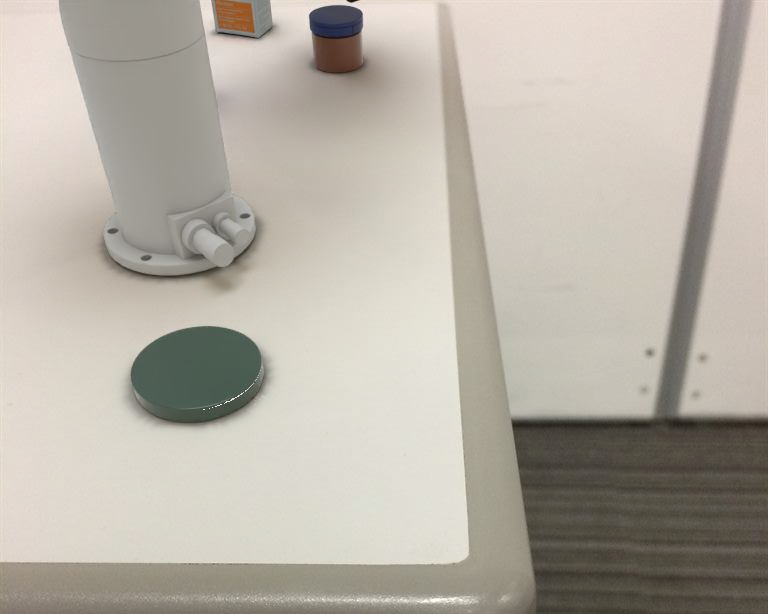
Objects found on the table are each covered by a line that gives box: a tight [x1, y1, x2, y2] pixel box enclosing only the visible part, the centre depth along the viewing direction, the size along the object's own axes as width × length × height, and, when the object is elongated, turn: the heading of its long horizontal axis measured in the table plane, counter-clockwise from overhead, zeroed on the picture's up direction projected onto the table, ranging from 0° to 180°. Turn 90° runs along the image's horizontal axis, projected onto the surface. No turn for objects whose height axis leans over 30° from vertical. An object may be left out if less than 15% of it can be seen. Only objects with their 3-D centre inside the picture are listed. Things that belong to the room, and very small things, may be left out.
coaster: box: [129, 325, 265, 423], centre depth 57 cm, size 9×9×1 cm
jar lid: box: [308, 4, 364, 37], centre depth 90 cm, size 6×6×1 cm
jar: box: [311, 29, 364, 74], centre depth 92 cm, size 6×6×4 cm
